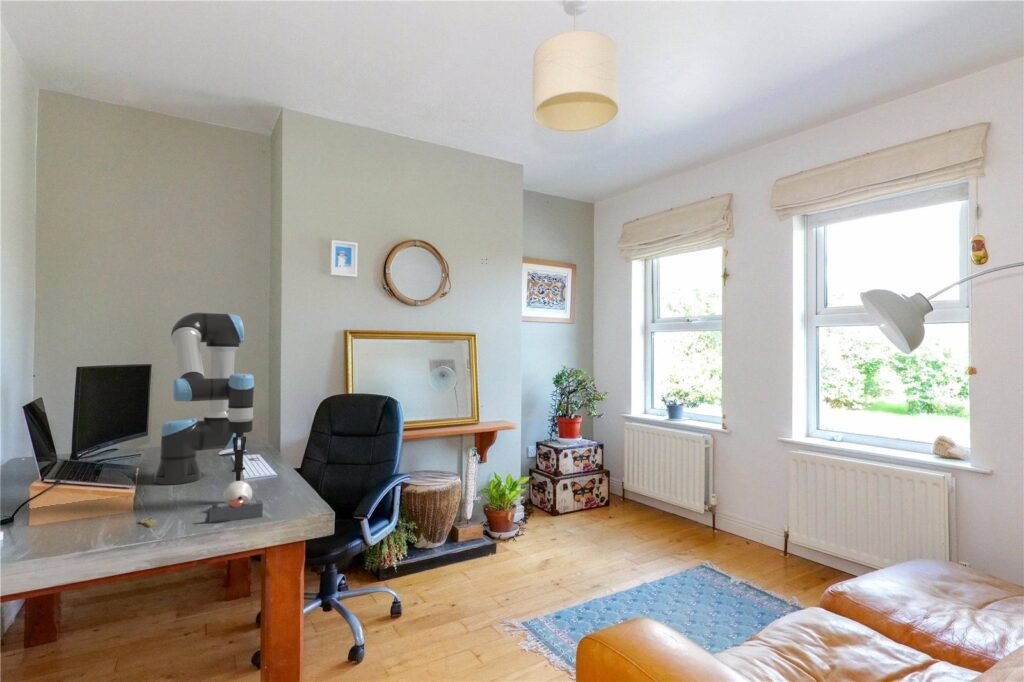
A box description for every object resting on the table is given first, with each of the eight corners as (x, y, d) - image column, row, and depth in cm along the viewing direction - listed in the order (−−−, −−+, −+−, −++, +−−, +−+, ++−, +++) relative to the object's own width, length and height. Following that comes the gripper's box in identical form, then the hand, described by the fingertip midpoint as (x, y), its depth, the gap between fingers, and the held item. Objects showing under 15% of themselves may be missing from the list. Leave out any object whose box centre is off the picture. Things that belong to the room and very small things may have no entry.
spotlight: (253, 500, 169) (249, 477, 168) (257, 511, 159) (253, 486, 159) (225, 508, 165) (221, 484, 164) (228, 520, 155) (223, 494, 154)
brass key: (139, 522, 150) (139, 519, 150) (150, 520, 152) (150, 517, 152) (147, 527, 146) (147, 524, 146) (158, 525, 148) (159, 522, 148)
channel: (212, 508, 164) (213, 490, 164) (261, 503, 170) (261, 486, 170) (208, 524, 150) (209, 504, 150) (262, 518, 156) (263, 499, 156)
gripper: (228, 417, 177) (225, 486, 177) (226, 423, 165) (224, 497, 165) (252, 417, 180) (250, 484, 180) (252, 422, 169) (250, 494, 168)
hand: (237, 490), depth 172 cm, fingers closed
